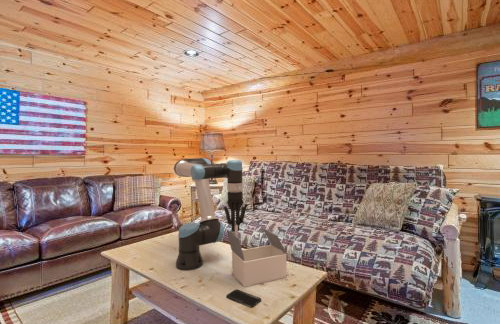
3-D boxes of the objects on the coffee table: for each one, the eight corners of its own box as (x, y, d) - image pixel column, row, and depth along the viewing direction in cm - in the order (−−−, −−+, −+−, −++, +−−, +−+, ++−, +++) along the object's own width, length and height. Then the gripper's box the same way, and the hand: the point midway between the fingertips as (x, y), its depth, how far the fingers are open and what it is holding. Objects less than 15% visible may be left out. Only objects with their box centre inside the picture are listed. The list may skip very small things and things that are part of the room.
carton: (232, 274, 153) (232, 251, 152) (271, 265, 163) (271, 244, 162) (244, 287, 139) (244, 262, 138) (286, 277, 149) (286, 254, 148)
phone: (236, 288, 136) (262, 298, 127) (236, 291, 136) (262, 301, 127) (225, 296, 129) (251, 306, 120) (225, 298, 129) (251, 309, 120)
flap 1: (232, 250, 152) (231, 250, 152) (227, 229, 150) (226, 229, 150) (244, 260, 138) (243, 261, 138) (239, 238, 136) (238, 238, 136)
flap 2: (261, 227, 159) (262, 227, 159) (271, 244, 162) (271, 243, 162) (276, 235, 145) (276, 234, 145) (285, 253, 148) (286, 252, 148)
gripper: (225, 193, 137) (226, 241, 138) (249, 191, 142) (250, 237, 143) (220, 191, 143) (220, 237, 145) (243, 189, 149) (244, 233, 150)
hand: (235, 237), depth 144 cm, fingers closed
